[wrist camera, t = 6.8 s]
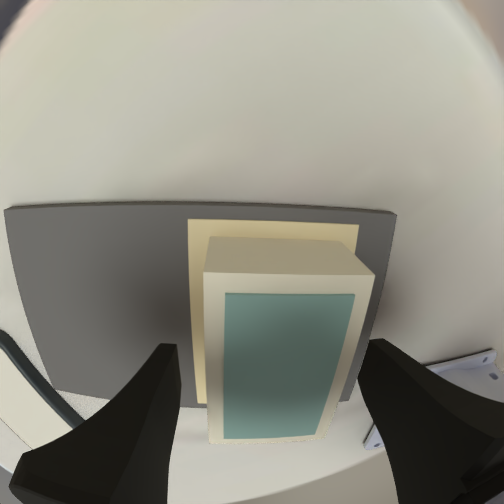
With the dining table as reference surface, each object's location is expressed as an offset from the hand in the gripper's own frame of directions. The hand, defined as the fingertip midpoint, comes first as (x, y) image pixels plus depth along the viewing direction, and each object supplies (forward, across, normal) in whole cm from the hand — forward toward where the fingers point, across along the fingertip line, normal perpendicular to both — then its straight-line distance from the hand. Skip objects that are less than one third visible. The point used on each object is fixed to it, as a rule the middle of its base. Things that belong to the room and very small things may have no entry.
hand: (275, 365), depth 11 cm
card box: (+2, 0, 0) cm, 2 cm away
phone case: (+4, +15, +10) cm, 19 cm away
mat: (+3, +4, 0) cm, 5 cm away
